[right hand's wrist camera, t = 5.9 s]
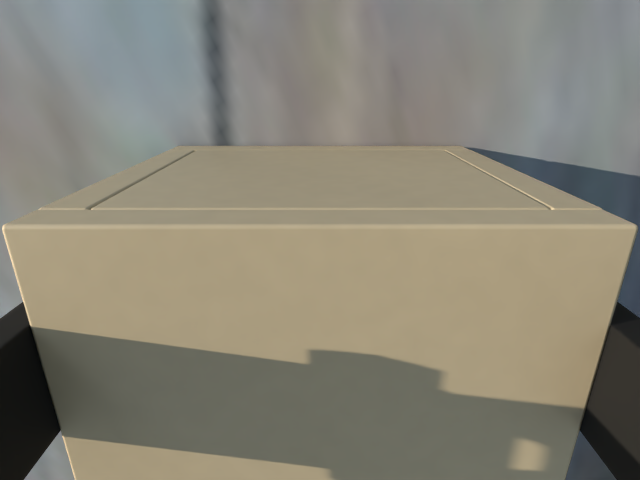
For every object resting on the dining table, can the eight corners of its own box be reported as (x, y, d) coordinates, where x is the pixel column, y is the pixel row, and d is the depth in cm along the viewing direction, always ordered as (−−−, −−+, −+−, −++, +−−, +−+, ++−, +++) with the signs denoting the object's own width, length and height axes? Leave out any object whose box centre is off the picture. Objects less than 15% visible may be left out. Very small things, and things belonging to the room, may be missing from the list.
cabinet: (419, 503, 24) (482, 768, 15) (220, 503, 24) (158, 769, 15) (462, 145, 17) (642, 225, 7) (177, 145, 17) (-2, 224, 7)
